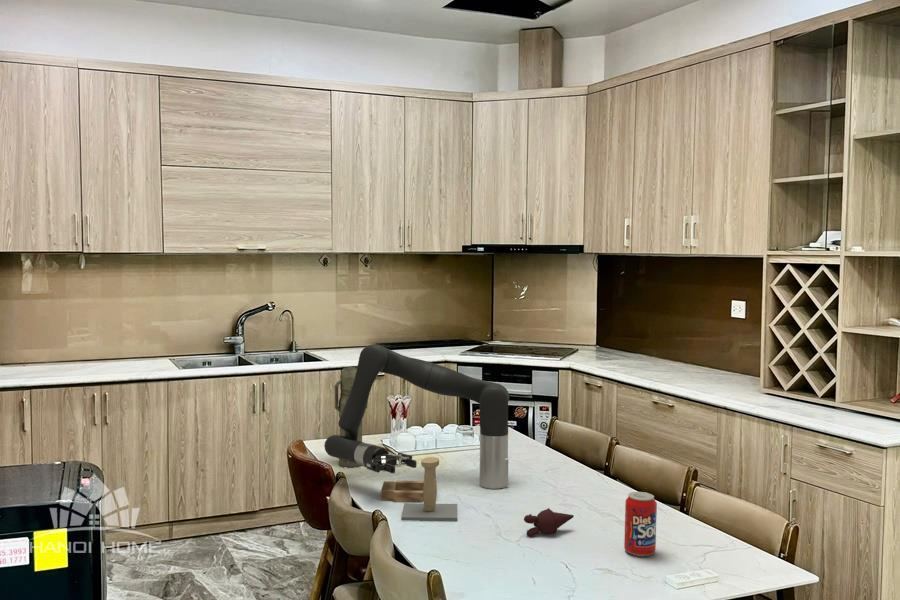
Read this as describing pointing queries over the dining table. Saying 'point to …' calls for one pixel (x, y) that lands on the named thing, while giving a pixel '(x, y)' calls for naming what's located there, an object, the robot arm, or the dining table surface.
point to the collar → (403, 491)
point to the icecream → (546, 522)
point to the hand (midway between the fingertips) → (405, 467)
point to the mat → (439, 514)
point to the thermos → (345, 386)
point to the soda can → (640, 524)
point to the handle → (429, 482)
